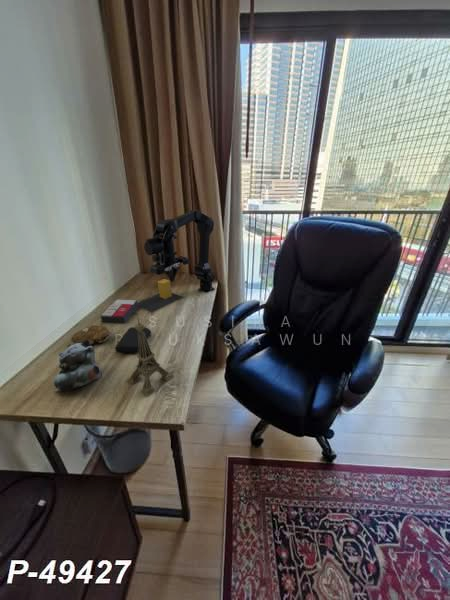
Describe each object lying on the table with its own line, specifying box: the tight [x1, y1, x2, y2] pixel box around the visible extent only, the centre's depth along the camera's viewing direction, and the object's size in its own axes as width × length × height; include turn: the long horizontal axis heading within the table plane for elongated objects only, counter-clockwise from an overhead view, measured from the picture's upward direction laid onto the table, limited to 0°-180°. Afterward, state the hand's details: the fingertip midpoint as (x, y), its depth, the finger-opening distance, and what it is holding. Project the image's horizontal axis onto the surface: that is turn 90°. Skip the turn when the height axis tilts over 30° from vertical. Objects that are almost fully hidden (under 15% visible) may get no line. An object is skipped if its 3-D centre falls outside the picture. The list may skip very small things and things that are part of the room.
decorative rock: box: [70, 324, 111, 345], centre depth 102 cm, size 11×4×15 cm
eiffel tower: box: [127, 315, 175, 397], centre depth 76 cm, size 11×11×25 cm
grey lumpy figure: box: [53, 340, 103, 393], centre depth 80 cm, size 15×12×14 cm
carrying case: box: [114, 326, 152, 354], centre depth 99 cm, size 11×3×15 cm
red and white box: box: [100, 299, 139, 324], centre depth 119 cm, size 11×4×15 cm
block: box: [157, 278, 173, 299], centre depth 132 cm, size 4×4×9 cm
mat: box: [138, 292, 184, 313], centre depth 130 cm, size 20×14×1 cm
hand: (172, 281), depth 120 cm, fingers closed
